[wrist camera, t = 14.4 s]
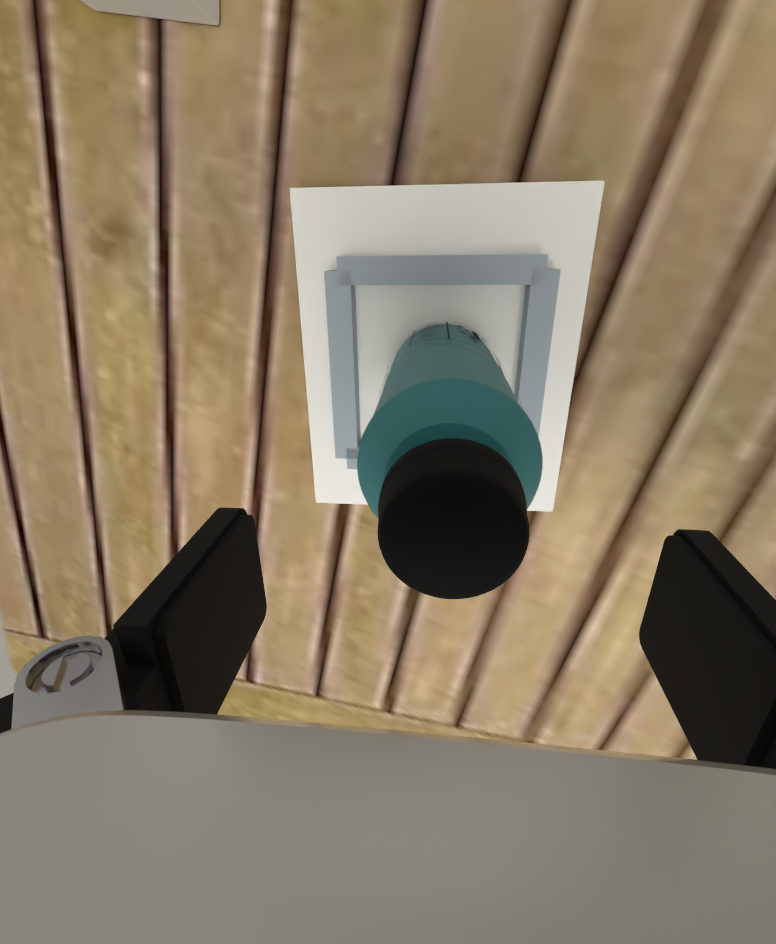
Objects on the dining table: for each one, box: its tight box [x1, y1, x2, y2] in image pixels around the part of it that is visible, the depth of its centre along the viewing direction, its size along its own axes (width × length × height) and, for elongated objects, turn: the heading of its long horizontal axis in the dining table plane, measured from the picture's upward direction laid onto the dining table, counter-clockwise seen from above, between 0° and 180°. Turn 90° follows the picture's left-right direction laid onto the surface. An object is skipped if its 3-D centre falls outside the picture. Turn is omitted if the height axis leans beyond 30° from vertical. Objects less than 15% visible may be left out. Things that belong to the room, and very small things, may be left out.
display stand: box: [290, 181, 605, 512], centre depth 30 cm, size 17×20×4 cm
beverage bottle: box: [357, 322, 543, 599], centre depth 21 cm, size 6×7×20 cm
